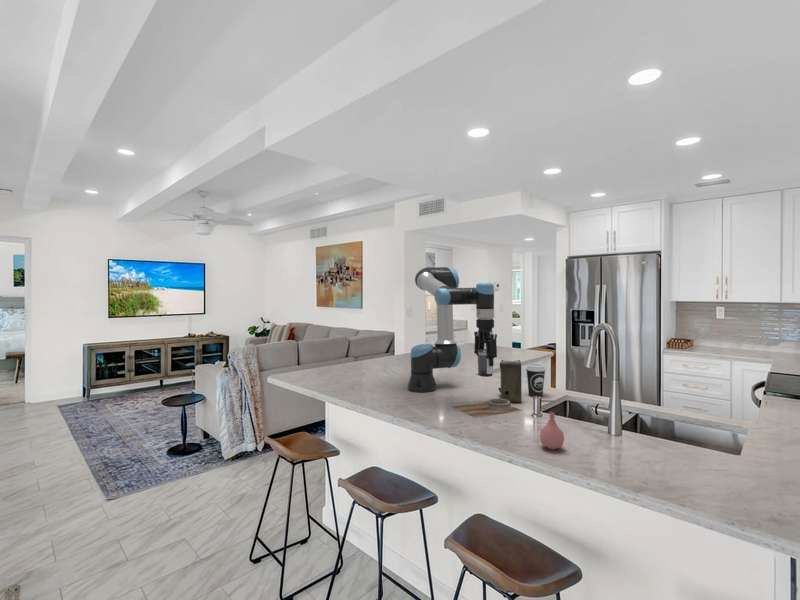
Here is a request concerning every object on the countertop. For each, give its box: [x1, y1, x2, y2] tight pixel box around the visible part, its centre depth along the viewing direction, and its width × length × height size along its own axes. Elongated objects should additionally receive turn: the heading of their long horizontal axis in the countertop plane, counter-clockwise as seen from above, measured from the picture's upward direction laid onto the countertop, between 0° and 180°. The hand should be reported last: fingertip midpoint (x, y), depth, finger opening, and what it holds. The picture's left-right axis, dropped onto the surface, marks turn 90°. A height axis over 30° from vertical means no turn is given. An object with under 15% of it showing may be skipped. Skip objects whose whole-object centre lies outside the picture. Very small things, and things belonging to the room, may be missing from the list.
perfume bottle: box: [539, 411, 565, 451], centre depth 139 cm, size 8×8×12 cm
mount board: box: [451, 398, 522, 419], centre depth 181 cm, size 18×24×4 cm
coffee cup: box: [525, 363, 547, 398], centre depth 206 cm, size 10×10×15 cm
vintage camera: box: [497, 359, 523, 404], centre depth 201 cm, size 10×15×20 cm, turn 174°
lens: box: [477, 348, 493, 378], centre depth 181 cm, size 6×6×11 cm
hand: (485, 372), depth 181 cm, fingers closed on lens, 6 cm apart
